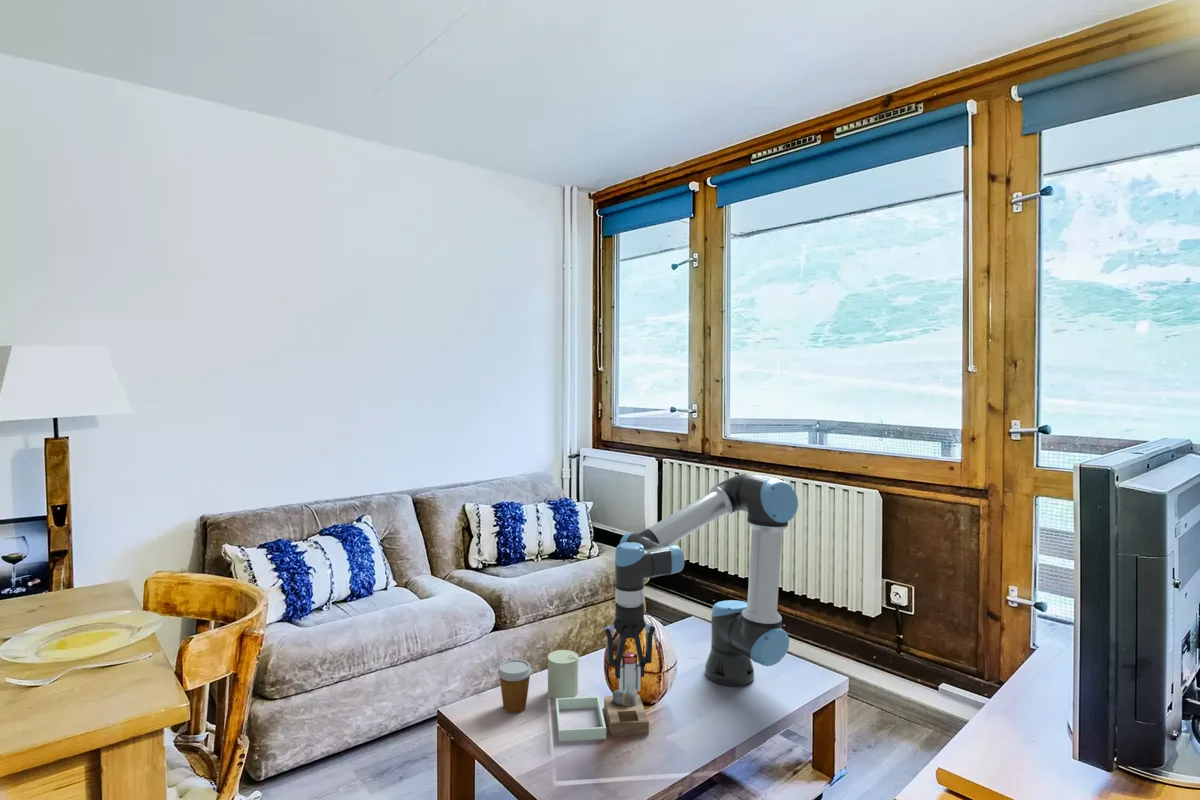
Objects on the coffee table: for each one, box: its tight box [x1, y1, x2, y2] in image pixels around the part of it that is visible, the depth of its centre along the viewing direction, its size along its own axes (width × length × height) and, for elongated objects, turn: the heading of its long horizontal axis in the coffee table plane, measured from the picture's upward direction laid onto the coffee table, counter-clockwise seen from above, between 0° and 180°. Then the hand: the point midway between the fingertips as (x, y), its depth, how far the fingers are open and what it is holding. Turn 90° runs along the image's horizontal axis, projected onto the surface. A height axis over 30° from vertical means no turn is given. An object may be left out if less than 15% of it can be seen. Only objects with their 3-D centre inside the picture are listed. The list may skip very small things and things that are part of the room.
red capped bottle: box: [621, 651, 638, 707], centre depth 171 cm, size 4×4×13 cm
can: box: [546, 649, 580, 700], centre depth 190 cm, size 9×9×12 cm
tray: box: [555, 695, 607, 742], centre depth 174 cm, size 16×12×4 cm
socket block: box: [603, 688, 650, 737], centre depth 175 cm, size 14×10×7 cm
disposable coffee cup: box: [497, 658, 533, 714], centre depth 182 cm, size 10×10×12 cm
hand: (629, 688), depth 171 cm, fingers closed on red capped bottle, 4 cm apart
